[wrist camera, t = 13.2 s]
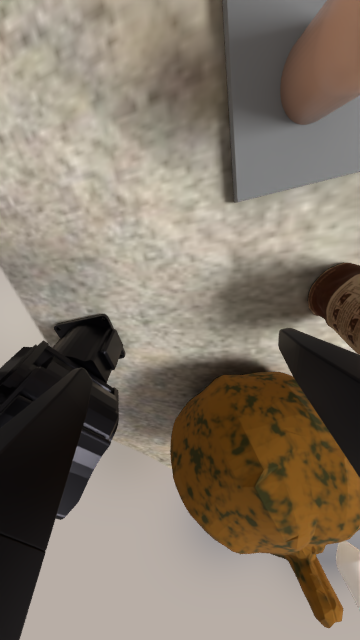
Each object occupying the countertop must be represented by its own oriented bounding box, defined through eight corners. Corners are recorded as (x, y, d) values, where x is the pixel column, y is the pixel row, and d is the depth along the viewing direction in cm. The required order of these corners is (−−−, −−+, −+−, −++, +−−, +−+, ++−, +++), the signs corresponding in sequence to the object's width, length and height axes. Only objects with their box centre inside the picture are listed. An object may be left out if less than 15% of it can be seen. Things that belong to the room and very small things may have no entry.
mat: (234, 202, 17) (237, 202, 16) (219, -41, 11) (223, -63, 10) (365, 169, 16) (376, 167, 15) (429, -115, 10) (453, -146, 9)
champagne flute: (309, 480, 48) (413, 684, 27) (332, 481, 49) (449, 680, 28) (296, 490, 51) (379, 680, 31) (318, 491, 52) (413, 676, 32)
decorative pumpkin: (166, 350, 24) (198, 704, 7) (316, 342, 26) (594, 590, 10) (166, 432, 35) (179, 648, 18) (272, 421, 37) (368, 601, 21)
